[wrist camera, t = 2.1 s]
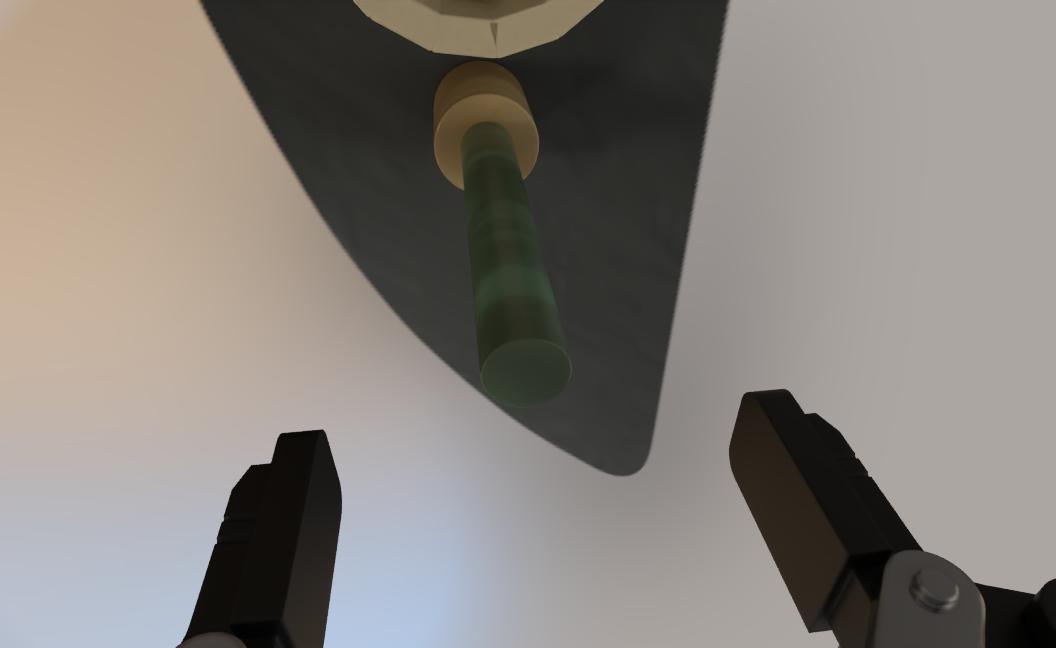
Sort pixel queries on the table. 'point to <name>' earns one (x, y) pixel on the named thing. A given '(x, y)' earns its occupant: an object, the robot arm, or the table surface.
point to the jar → (478, 23)
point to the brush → (501, 232)
